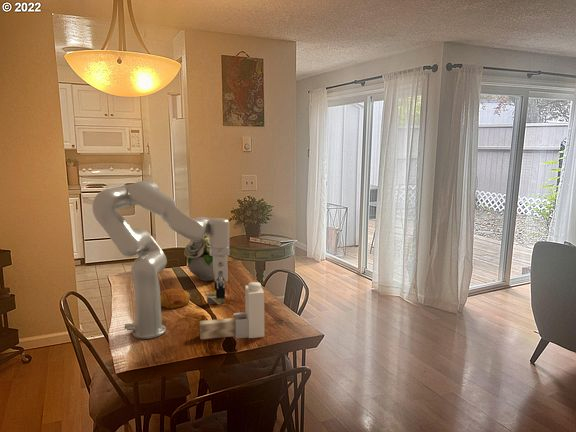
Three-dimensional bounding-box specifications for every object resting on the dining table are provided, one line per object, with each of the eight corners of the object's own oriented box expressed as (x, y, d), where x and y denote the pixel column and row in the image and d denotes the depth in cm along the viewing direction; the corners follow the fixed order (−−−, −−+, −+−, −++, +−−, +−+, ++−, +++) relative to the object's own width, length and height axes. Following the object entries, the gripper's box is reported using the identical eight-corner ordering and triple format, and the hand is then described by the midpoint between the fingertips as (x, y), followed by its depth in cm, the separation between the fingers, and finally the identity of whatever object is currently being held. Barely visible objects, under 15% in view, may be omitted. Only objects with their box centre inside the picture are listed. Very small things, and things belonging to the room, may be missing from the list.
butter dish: (234, 309, 193) (233, 295, 192) (194, 310, 191) (194, 296, 190) (235, 300, 204) (235, 287, 203) (198, 301, 203) (197, 288, 202)
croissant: (156, 305, 202) (153, 289, 201) (189, 296, 208) (186, 281, 206) (159, 315, 189) (156, 298, 188) (194, 305, 195) (191, 289, 193)
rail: (200, 339, 161) (199, 324, 160) (200, 335, 164) (199, 321, 163) (246, 334, 165) (246, 320, 164) (245, 331, 169) (245, 317, 168)
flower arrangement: (175, 282, 230) (174, 238, 226) (201, 270, 252) (200, 230, 249) (214, 288, 220) (213, 243, 216) (237, 275, 243) (237, 234, 239)
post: (236, 339, 161) (235, 289, 158) (233, 328, 171) (232, 281, 167) (264, 336, 164) (264, 287, 160) (260, 326, 173) (259, 279, 170)
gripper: (231, 256, 152) (231, 301, 155) (227, 245, 168) (227, 286, 171) (210, 256, 150) (211, 302, 153) (208, 245, 167) (208, 287, 169)
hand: (219, 293), depth 162 cm, fingers open, 9 cm apart
